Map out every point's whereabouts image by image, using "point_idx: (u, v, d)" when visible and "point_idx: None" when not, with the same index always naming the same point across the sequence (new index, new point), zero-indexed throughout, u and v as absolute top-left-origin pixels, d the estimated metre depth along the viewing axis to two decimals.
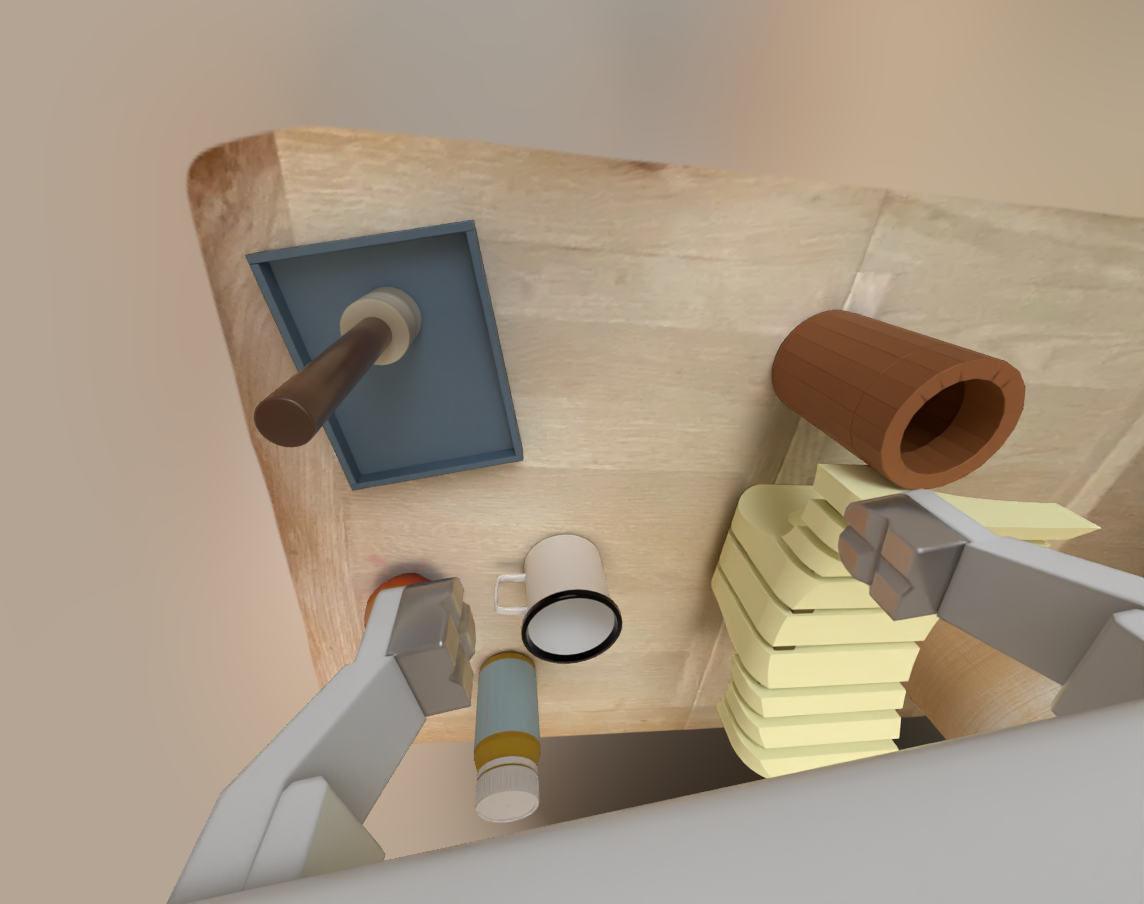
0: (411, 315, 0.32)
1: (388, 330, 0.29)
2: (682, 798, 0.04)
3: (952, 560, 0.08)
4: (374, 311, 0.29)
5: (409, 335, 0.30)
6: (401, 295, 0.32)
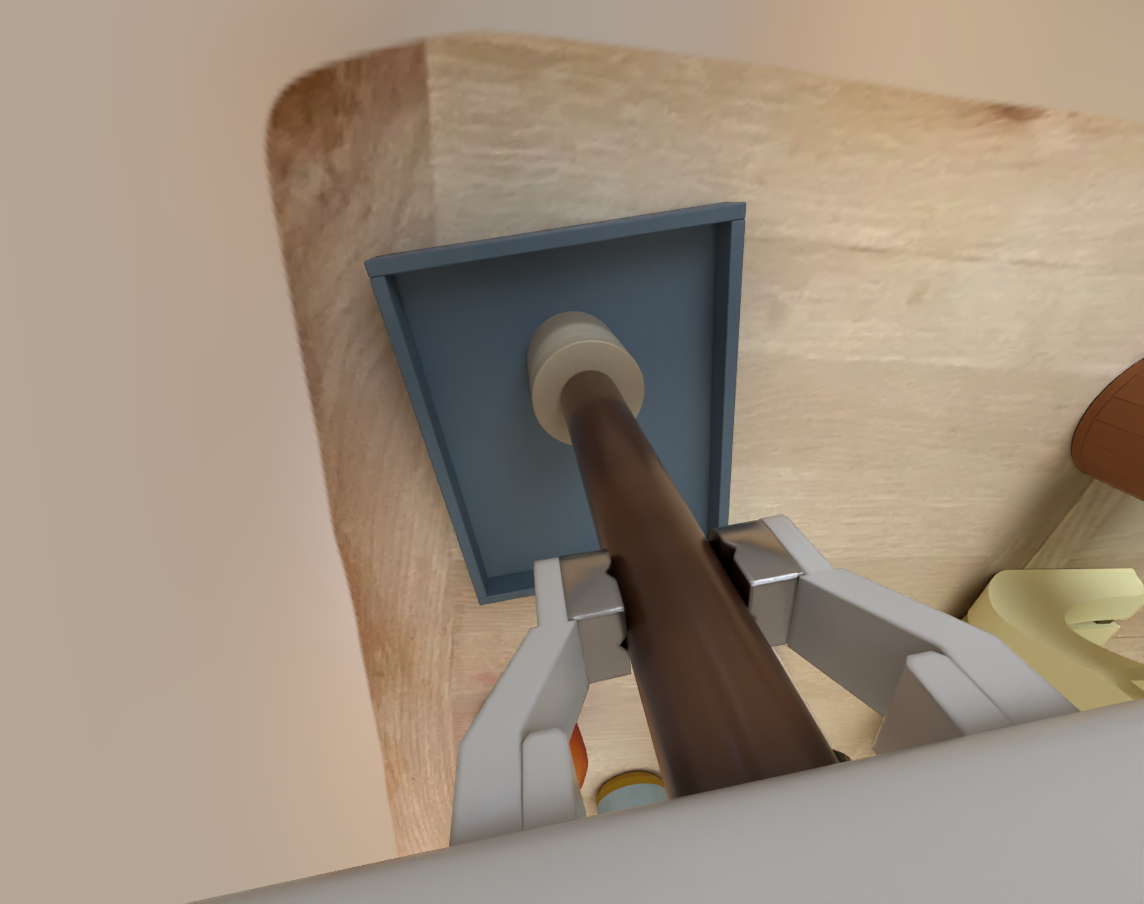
0: None
1: None
2: (682, 798, 0.04)
3: (790, 592, 0.08)
4: (596, 361, 0.17)
5: (642, 398, 0.18)
6: (605, 326, 0.20)
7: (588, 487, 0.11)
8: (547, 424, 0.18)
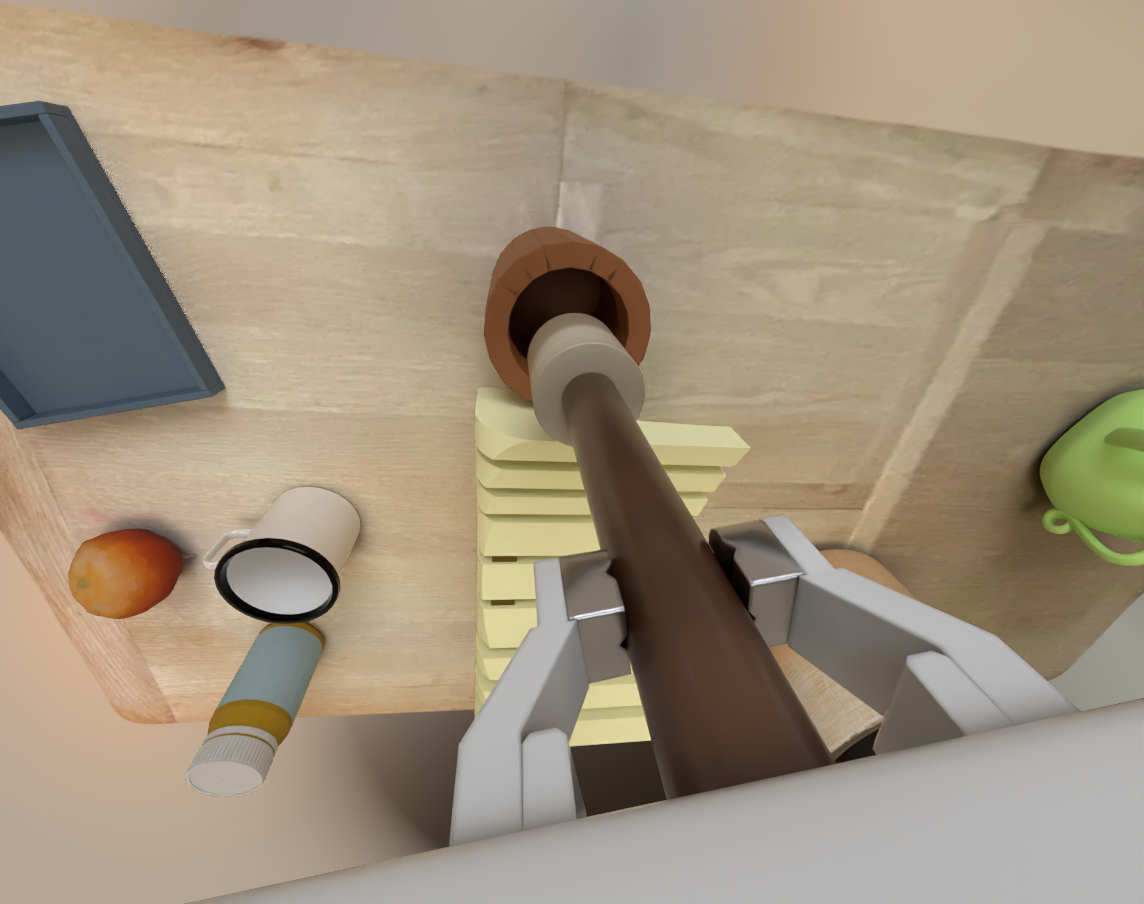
0: None
1: None
2: (682, 798, 0.04)
3: (790, 592, 0.08)
4: (597, 363, 0.17)
5: (642, 400, 0.18)
6: (606, 328, 0.20)
7: (589, 490, 0.11)
8: (547, 426, 0.18)
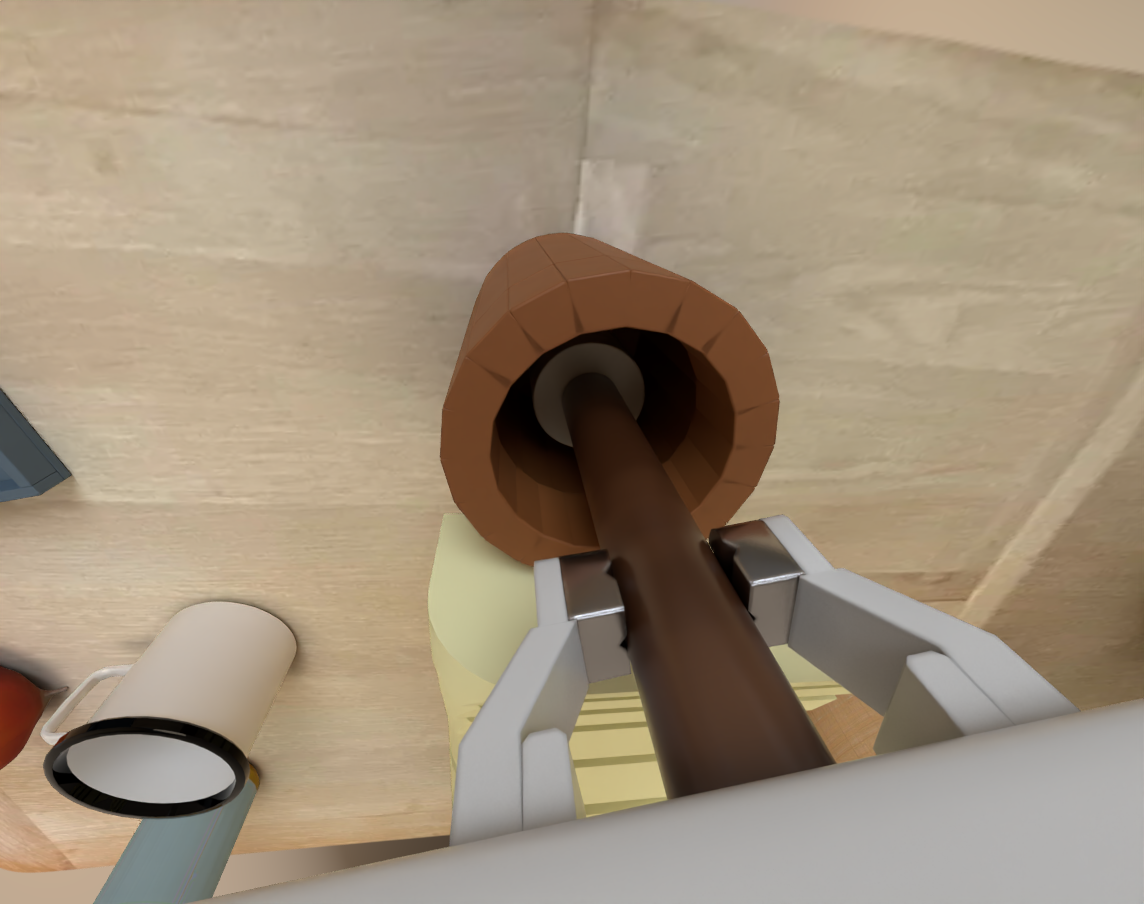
0: None
1: None
2: (682, 798, 0.04)
3: (790, 592, 0.08)
4: (597, 363, 0.17)
5: (642, 400, 0.18)
6: None
7: (589, 490, 0.11)
8: (547, 426, 0.18)
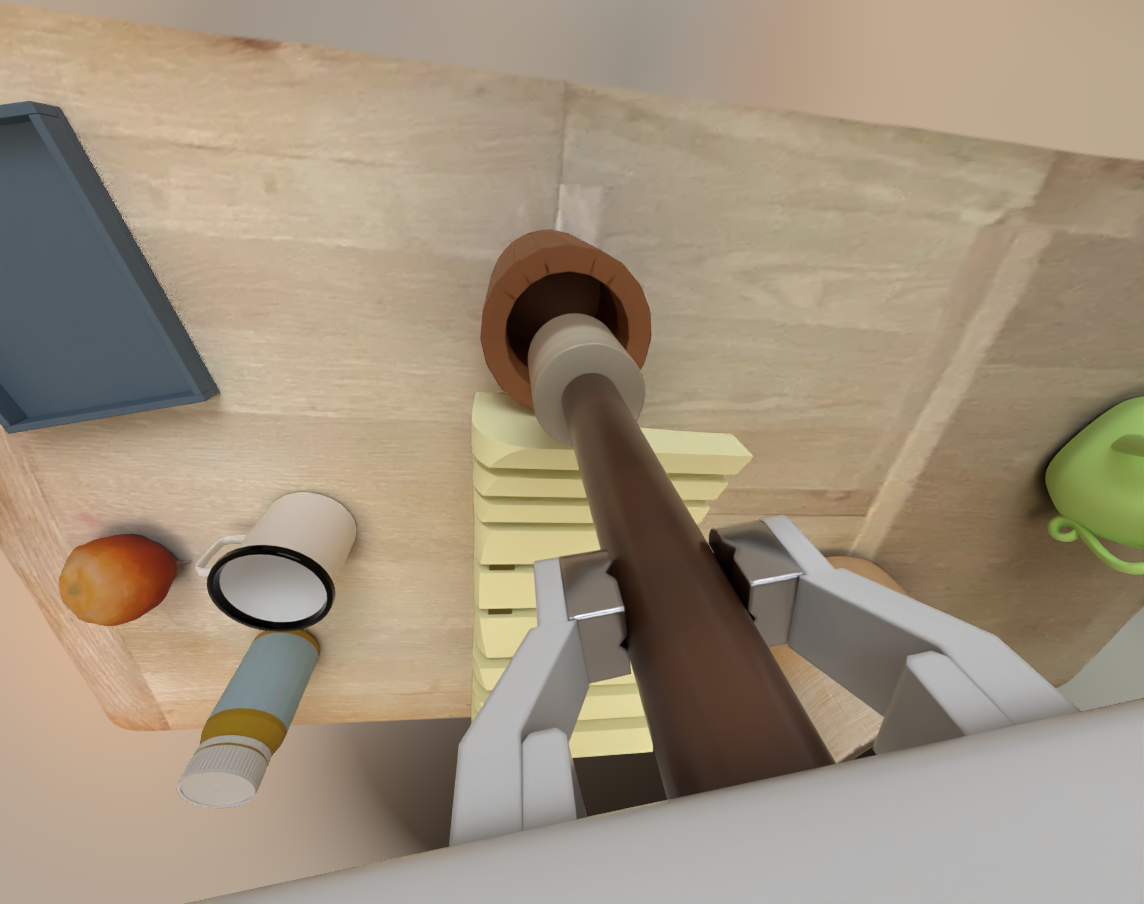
0: None
1: None
2: (682, 798, 0.04)
3: (790, 592, 0.08)
4: (597, 364, 0.17)
5: (642, 400, 0.18)
6: (606, 328, 0.20)
7: (589, 490, 0.11)
8: (547, 427, 0.18)
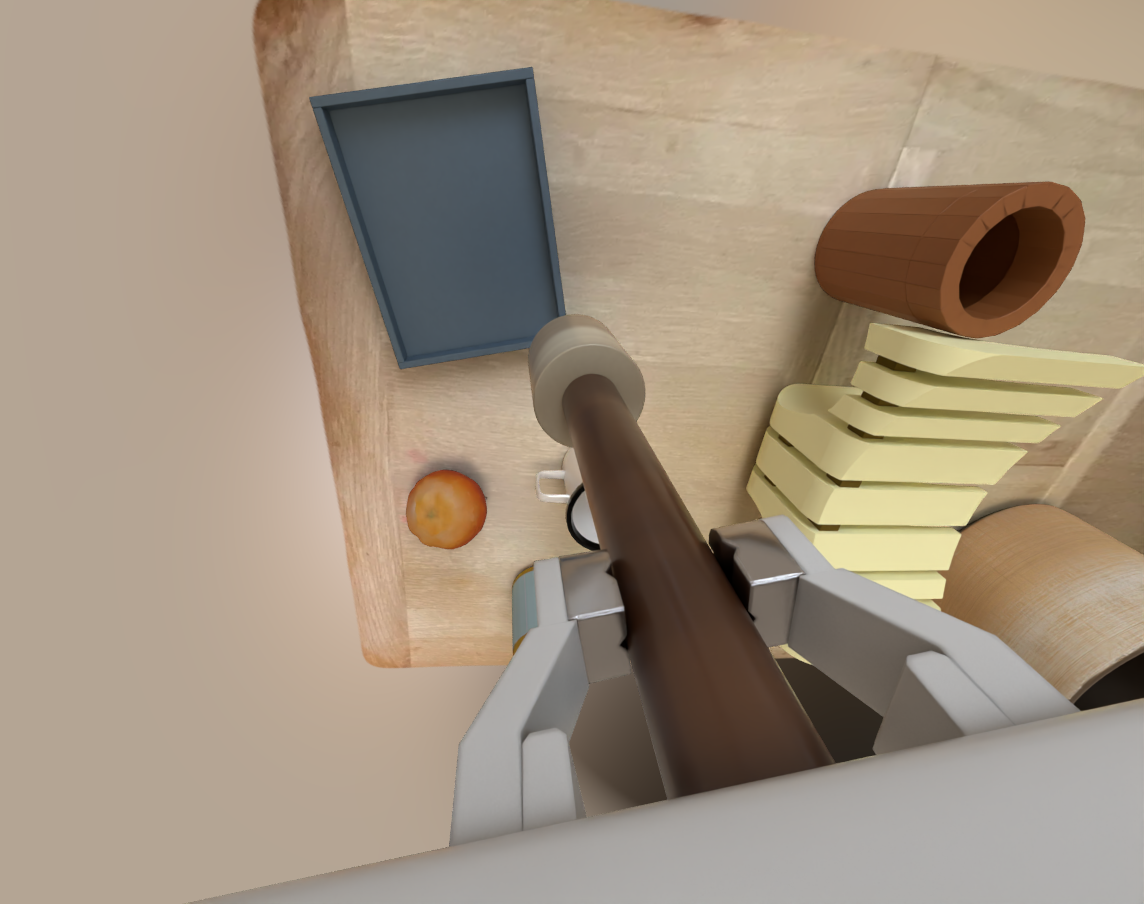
0: None
1: None
2: (682, 798, 0.04)
3: (790, 592, 0.08)
4: (597, 365, 0.17)
5: None
6: (606, 329, 0.20)
7: (589, 492, 0.11)
8: (548, 427, 0.18)
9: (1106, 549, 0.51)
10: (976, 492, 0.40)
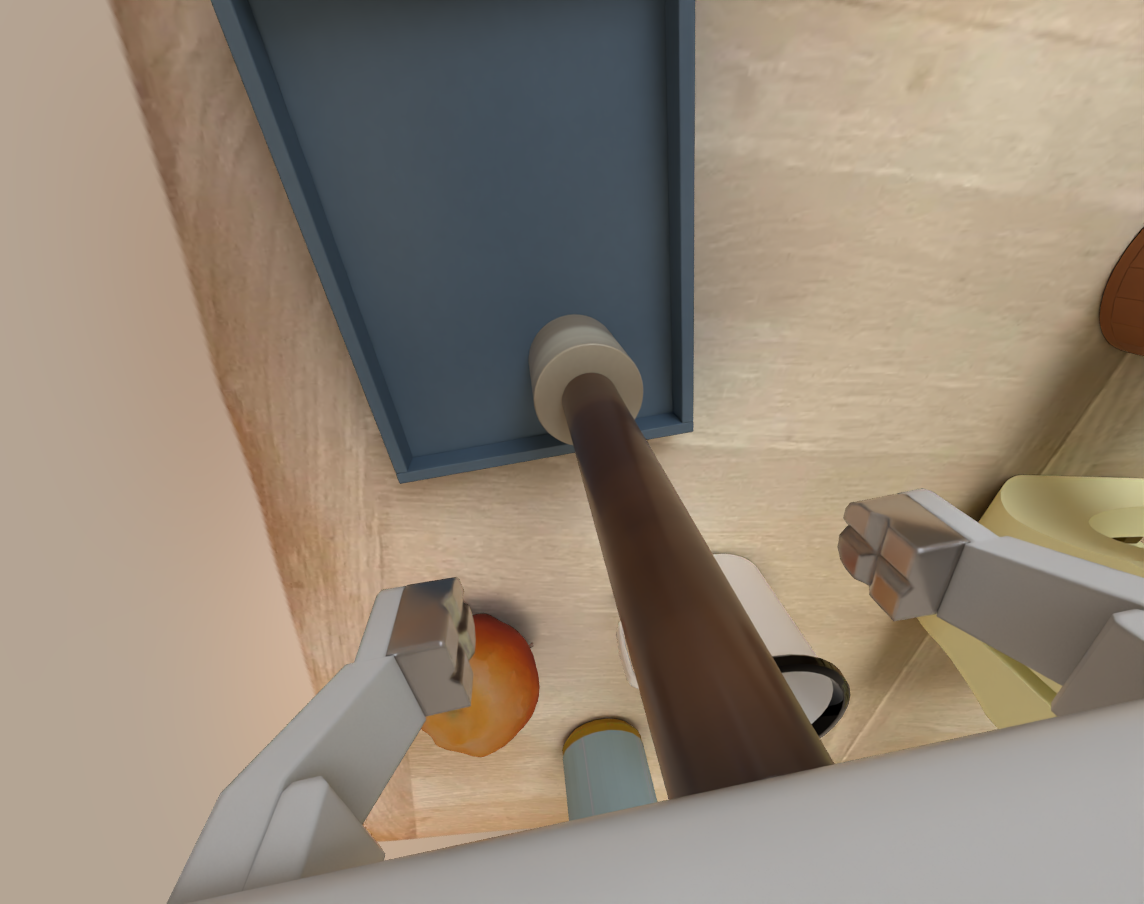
0: None
1: None
2: (682, 798, 0.04)
3: (952, 560, 0.08)
4: (596, 364, 0.17)
5: None
6: (605, 329, 0.20)
7: (588, 486, 0.12)
8: (548, 425, 0.18)
9: None
10: None
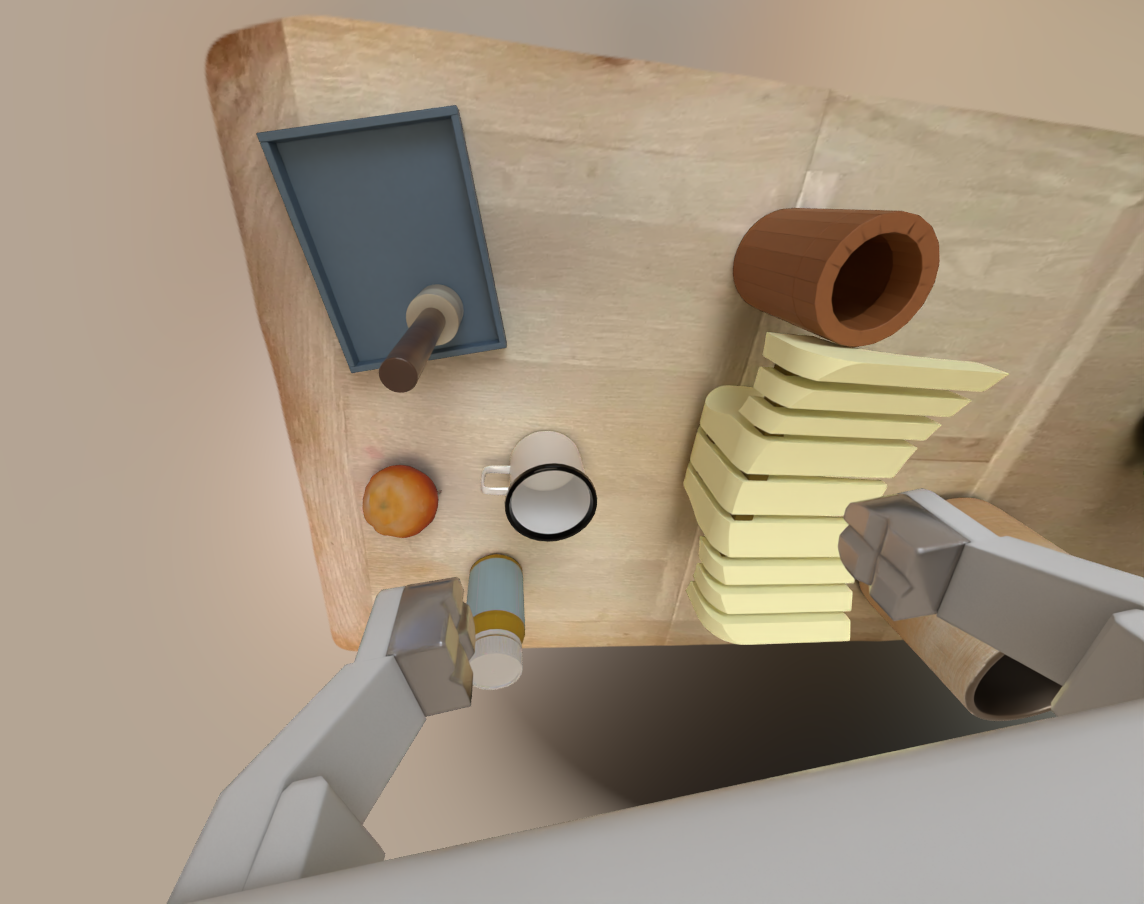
0: (458, 306, 0.40)
1: (443, 317, 0.38)
2: (682, 798, 0.04)
3: (952, 560, 0.08)
4: (433, 303, 0.38)
5: (458, 322, 0.39)
6: (449, 291, 0.41)
7: None
8: None
9: None
10: (877, 485, 0.44)
